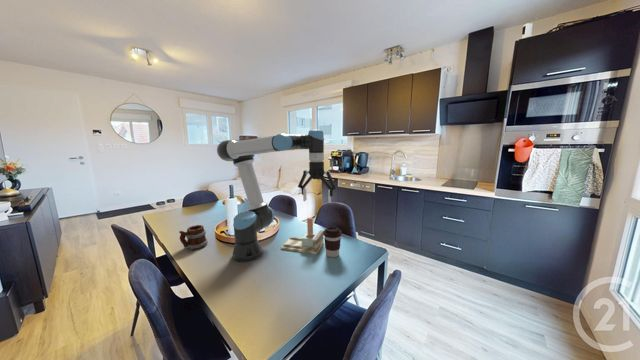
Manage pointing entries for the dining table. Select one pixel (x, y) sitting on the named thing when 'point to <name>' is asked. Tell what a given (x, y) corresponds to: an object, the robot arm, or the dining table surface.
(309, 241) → the block
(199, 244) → the mug
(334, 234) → the coffee cup
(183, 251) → the dining table surface
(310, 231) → the dowel
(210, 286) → the dining table surface
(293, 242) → the board
